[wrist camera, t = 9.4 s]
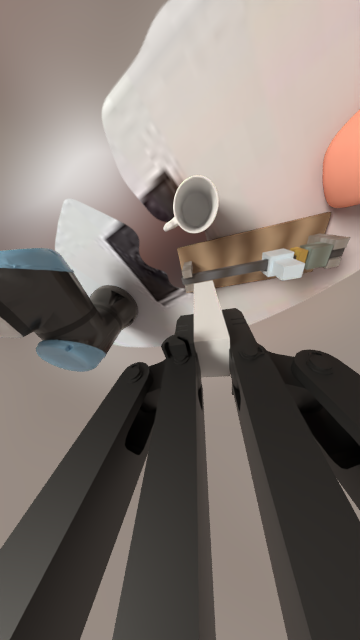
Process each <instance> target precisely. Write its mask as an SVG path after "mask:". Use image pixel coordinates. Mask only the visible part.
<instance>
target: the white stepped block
mask: <svg viewBox="0 0 360 640" xmlns="http://www.w3.org/2000/svg"><path fill="white" fill-rule="evenodd" d="M293 257H294V252H293V251H290V250H287V249H284V248H282V249H278V250H273V251H268V252H263V254H262V260H264V259H268V260H269V261H268V268H267V270H263V271H261V272H262V273H263V274H265V275H266V276H267V277H271V276H276V277H277V278H279V279H280V280H282V281H284V280H290V279H296V278H301V277H302V273H303V270H304V266H305V263H303V262H301V261H298V260H296V259H293Z"/></svg>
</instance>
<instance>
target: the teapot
mask: <svg viewBox="0 0 360 640" xmlns="http://www.w3.org/2000/svg"><path fill="white" fill-rule="evenodd" d="M323 188H324V194H325V197H326V201H327V203H328V204H329V205H330V206H331V207H334V208H344V207H349V206H353V205H357V204H360V110H359V111H358V112H357V113H356V114H355V115H354V116H353V117H352V118H351V119H350V120H349V121H348V122H347V123H346V124H345V125H344V126H343V127H342V128H341V130H340V131H339V132H338V133H337V135H336V136H335V137H334V139H333V140H332V142H331V143H330V145H329V147H328V149H327V151H326V154H325V157H324V162H323Z"/></svg>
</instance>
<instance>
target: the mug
mask: <svg viewBox="0 0 360 640" xmlns="http://www.w3.org/2000/svg"><path fill="white" fill-rule="evenodd" d="M218 206H219V197H218V192H217V189H216V187H215V185H214V184H213V182H212V181H211V180H210V179H208V178H207V177H205V176H201V175H194V176H191V177H189V178H187V179H186V180H184V181H183V182H182V183H181V185H180V186H179V188H178V189H177V192H176V194H175V197H174V203H173V210H174V216H175V217H174V218H173V219H172V220H171V221H169V222H168V223H166V224H165V226H164V231H168V230H171V229H173V228H175V227H177V226H178V225H179V226H180V227H181V228H182V229H183V230H185V231H187V232H189V233H200V232H202V231H204V230H206V229H207V228H208V227H209V226H210V225H211V224H212V222H213V221H214V219H215V217H216V215H217V212H218Z"/></svg>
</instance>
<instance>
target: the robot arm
mask: <svg viewBox="0 0 360 640" xmlns="http://www.w3.org/2000/svg"><path fill="white" fill-rule="evenodd" d="M137 313H138V309H137V305H136V302H135V301H134V299H133V298H132V297H131V296H130V295H129V294H128V293H127V292H126V291H124V290H123V289H121V288H119V287H116V286H110V285H106V286H102V287H99V288H98V289H97V290H95V291H94V292H93V293H92V294H91V296H90V298H89V297H88V295H87V293H86V292H85V290H84V289H83V287H82V286H81V284H80V282H79V281H78V279H77V278H76V276H75V274H74V271H73V270H71V269H70V267H69V266H68V264H67V263H66V262H65V260H64V259H63V257H62V256H61V255H60V254H59V253H58V252H56V251H54V250H52V249H47V248H32V249H17V250H6V251H0V338H3V337H9V338H10V337H11V338H22V337H24V336H26V335H28V334H30V333H32V332H35V333H36V334H37V335H38V336H39V337H40V338H41V339H42V340H43V341H41V342H39V344H38V346H37V347H36V352H37V354H38V355H39V356H40V357H41V358H42V359H43V360H45V361H47V362H48V363H50V364H52V365H54V366H57V367H59V368H63V369H67V370H71V371H80V372H81V371H82V372H83V371H89V370H92V369H94V368H96V367H97V365H98V364H99V363H100V362H101V360H102V359H103V358H104V357H105V356H106V354H107V352H108V351H109V349H110V347H111V346H112V344H113V343H114V341H115V339H116V338H117V336H118V335H119V333H120V332H121V330H123V329H124V328H126V327H127V326H129V325H130V324H131V323H132V322H133V321H134V320H135V318H136V316H137ZM175 331H176V332H175V335H172V336H170V337H169V338H167V339H166V340H165V341H164V342H163V344H162V346H161V347H162V350H163V352H164V354H165V357H166V359H165V360H164V361H162V362H160V363H158V364H155V365H152V366H149V367H148V365H147V364H146V363H143V362H137V363H134V364H132V365H130V366H129V367H127V368H126V369H125V371H124V372H123V373H122V374H121V376H120V377H119V379H118V380H117V382H116V383H115V384H114V386H113V387H112V389H111V390H110V392H109V393H108V395H107V396H106V397H105V399H104V400H103V402H102V403H101V405H100V406H99V408H98V409H97V411H96V412H95V413H94V415H93V416H92V418H91V419H90V421H89V422H88V423H87V425H86V426H85V428H84V429H83V431H82V432H81V434H80V435H79V437H78V438H77V440H76V441H75V442H74V444H73V445H72V447H71V448H70V449H69V451H68V452H67V454H66V455H65V457H64V458H63V460H62V461H61V462H60V464H59V465H58V467H57V468H56V470H55V471H54V473H53V474H52V475H51V477H50V479H49V480H48V481H47V483H46V484H45V486H44V487H43V488H42V490H41V492H40V493H39V494H38V496H37V497H36V499H35V500H34V501H33V503H32V504H31V506H30V507H29V509H28V510H27V512H26V513H25V515H24V516H23V517H22V519H21V520H20V522H19V523H18V525H17V526H16V527H15V529H14V530H13V532H12V533H11V535H10V536H9V538H8V539H7V541H6V542H5V543H4V545H3V546H2V548H1V549H0V640H80V637H81V635H82V632H83V629H84V627H85V624H86V621H87V618H88V616H89V613H90V610H91V607H92V605H93V602H94V599H95V597H96V593H97V591H98V588H99V585H100V583H101V580H102V577H103V574H104V572H105V569H106V566H107V563H108V561H109V558H110V555H111V552H112V550H113V547H114V544H115V542H116V539H117V536H118V533H119V531H120V528H121V525H122V523H123V520H124V517H125V514H126V512H127V508H128V506H129V503H130V501H131V498H132V495H133V492H134V490H135V487H136V484H137V481H138V478H139V476H140V473H141V470H142V468H143V465H144V462H145V459H146V457H147V454H148V457H147V462H146V468H145V472H144V478H143V483H142V488H141V493H140V499H139V504H138V509H137V514H136V519H135V525H134V530H133V535H132V541H131V546H130V550H129V556H128V561H127V566H126V571H125V576H124V582H123V587H122V592H121V597H120V603H119V608H118V613H117V618H116V623H115V628H114V634H113V639H112V640H216V637H215V636H216V634H215V615H214V597H213V577H212V558H211V539H210V522H209V521H210V520H209V502H208V482H207V463H206V445H205V425H204V406H203V388H202V384H201V377H218V376H230V374H231V378H232V395H234V398H235V402H236V406H237V411H238V416H239V420H240V425H241V429H242V433H243V438H244V443H245V447H246V452H247V456H248V461H249V465H250V470H251V474H252V479H253V483H254V488H255V493H256V497H257V502H258V506H259V511H260V515H261V520H262V524H263V529H264V533H265V538H266V542H267V546H268V551H269V555H270V560H271V564H272V569H273V574H274V578H275V583H276V587H277V592H278V596H279V601H280V605H281V610H282V614H283V619H284V623H285V628H286V632H287V636H288V640H360V521H359V519H358V517H357V515H356V513H355V512H354V510H353V508H352V506H351V504H350V502H349V501H348V499H347V497H346V495H345V493H344V491H343V490H342V488H341V486H340V484H341V485H342V486H343V488H344V489H345V490H346V492H347V493H348V495H349V496H350V497H351V499H352V500H353V501H354V503H355V504H356V506H357V507H358V508H359V510H360V375H359V374H358V373H356V372H355V371H353V370H352V369H351V368H349V367H348V366H347V365H345V364H344V363H342V362H341V361H340V360H338V359H336V358H335V357H333V356H331V355H329V354H327V353H324V352H321V351H316V350H302V351H300V352H298V353H297V354H296V356H295V357H291V356H285V355H279V354H275V353H271V352H268V351H267V350H266V349H265V348H264V347H263V346H261V345H259V344H258V343H257V342H256V340H255V338H254V336H253V334H252V332H251V330H250V328H249V326H248V324H247V322H246V320H245V319H244V316H243V314H242V312H241V311H239V310H238V309H236V308H233V309H225V310H221V307H220V304H219V300H218V297H217V293H216V290H215V287H214V283H213V280H212V281H207V282H201V283H195V284H194V314H191V315H184V316H180V318H179V319H178V320H177V324H176V330H175ZM148 451H149V452H148ZM336 478H337V479H336ZM338 481H339V482H340V484H339V482H338Z"/></svg>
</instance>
